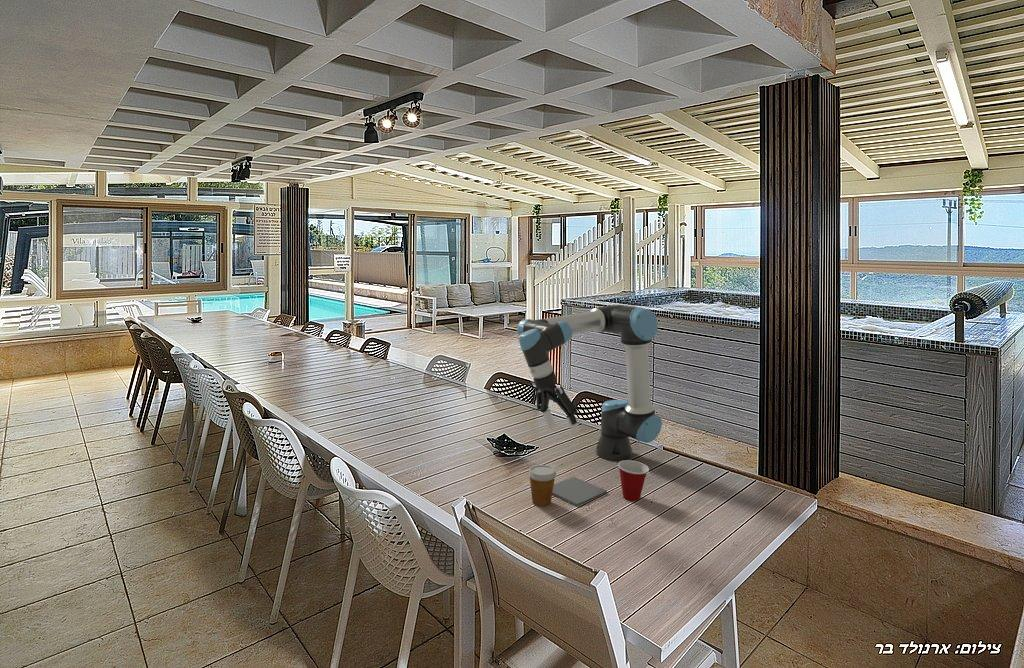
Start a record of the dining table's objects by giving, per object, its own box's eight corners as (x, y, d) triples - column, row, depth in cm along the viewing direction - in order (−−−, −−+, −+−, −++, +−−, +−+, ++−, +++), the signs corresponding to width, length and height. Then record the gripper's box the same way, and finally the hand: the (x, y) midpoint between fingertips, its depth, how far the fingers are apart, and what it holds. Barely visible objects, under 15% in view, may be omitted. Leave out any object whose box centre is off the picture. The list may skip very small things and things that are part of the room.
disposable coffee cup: (524, 498, 199) (524, 466, 197) (549, 495, 202) (550, 463, 200) (533, 510, 190) (533, 477, 188) (559, 507, 193) (560, 473, 191)
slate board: (573, 479, 216) (573, 476, 216) (606, 493, 204) (607, 490, 204) (543, 491, 205) (543, 488, 205) (577, 506, 194) (577, 504, 193)
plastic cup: (648, 506, 195) (650, 473, 193) (616, 503, 197) (617, 470, 195) (647, 492, 205) (649, 460, 203) (616, 489, 207) (618, 458, 205)
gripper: (514, 377, 201) (535, 430, 205) (556, 381, 180) (578, 440, 184) (530, 368, 205) (550, 420, 209) (573, 370, 184) (595, 428, 188)
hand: (563, 429), depth 197 cm, fingers open, 13 cm apart
